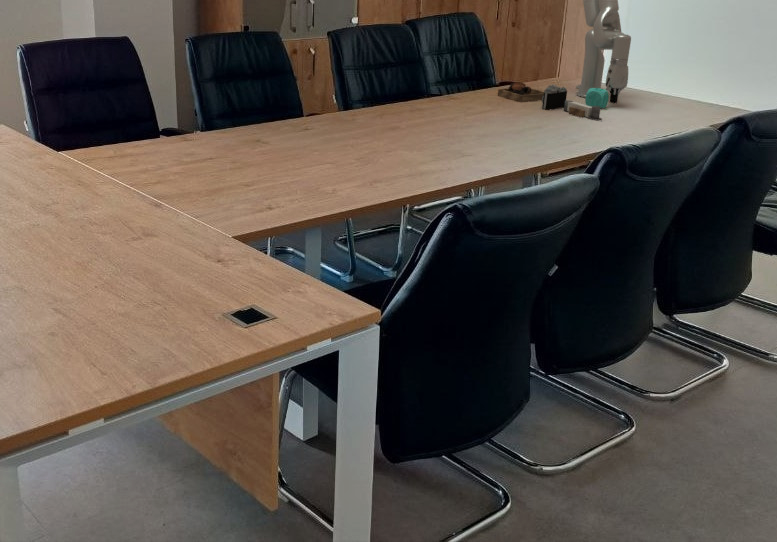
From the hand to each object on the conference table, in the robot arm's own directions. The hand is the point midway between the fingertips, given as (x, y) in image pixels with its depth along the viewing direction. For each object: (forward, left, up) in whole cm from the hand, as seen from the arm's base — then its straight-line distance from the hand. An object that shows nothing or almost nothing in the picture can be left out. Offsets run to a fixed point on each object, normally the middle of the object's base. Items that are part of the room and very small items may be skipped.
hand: (613, 102), depth 419 cm
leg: (+8, -31, -1) cm, 32 cm away
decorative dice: (0, -11, -2) cm, 11 cm away
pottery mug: (-28, -33, -2) cm, 43 cm away
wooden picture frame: (-28, -30, -1) cm, 41 cm away
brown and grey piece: (+14, -31, -1) cm, 34 cm away
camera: (-7, -32, -2) cm, 33 cm away
